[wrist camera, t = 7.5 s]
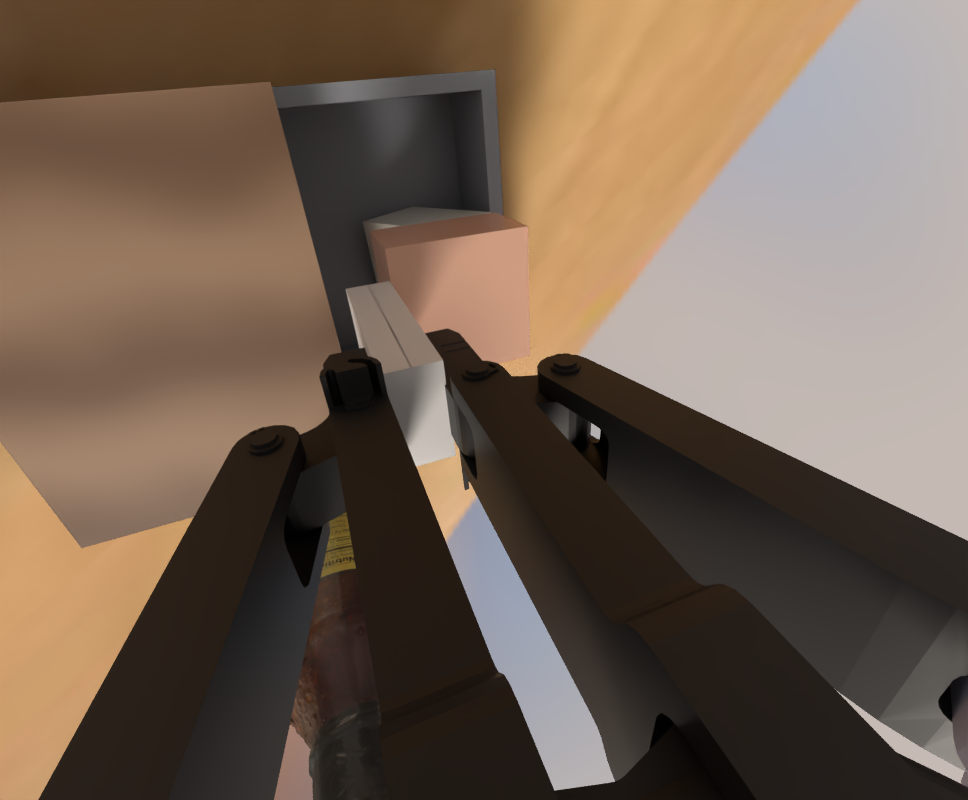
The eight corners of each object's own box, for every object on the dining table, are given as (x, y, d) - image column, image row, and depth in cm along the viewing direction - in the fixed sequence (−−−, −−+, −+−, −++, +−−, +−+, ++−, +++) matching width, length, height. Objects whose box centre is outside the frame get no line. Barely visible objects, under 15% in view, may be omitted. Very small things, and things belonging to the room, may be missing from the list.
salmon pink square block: (369, 230, 18) (385, 248, 15) (495, 212, 19) (527, 226, 17) (392, 352, 20) (408, 384, 18) (501, 329, 22) (529, 355, 19)
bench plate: (-48, 119, 17) (-245, 121, 11) (274, 92, 20) (270, 81, 14) (134, 434, 25) (81, 548, 18) (350, 383, 27) (371, 466, 21)
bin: (167, 101, 19) (138, 97, 15) (457, 77, 22) (495, 69, 18) (265, 369, 25) (262, 415, 21) (479, 322, 28) (511, 355, 24)
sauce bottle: (379, 515, 33) (473, 900, 17) (279, 528, 31) (277, 988, 14) (383, 434, 30) (503, 807, 14) (273, 441, 28) (261, 899, 11)
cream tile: (440, 230, 19) (490, 211, 20) (362, 221, 22) (412, 206, 23) (458, 346, 21) (500, 320, 23) (386, 324, 24) (429, 303, 26)
